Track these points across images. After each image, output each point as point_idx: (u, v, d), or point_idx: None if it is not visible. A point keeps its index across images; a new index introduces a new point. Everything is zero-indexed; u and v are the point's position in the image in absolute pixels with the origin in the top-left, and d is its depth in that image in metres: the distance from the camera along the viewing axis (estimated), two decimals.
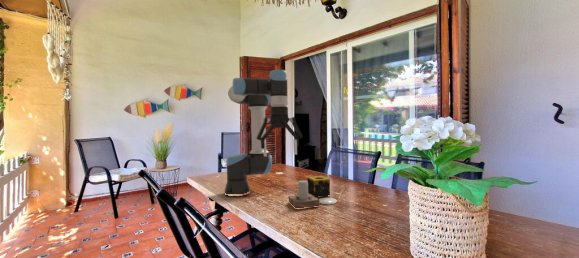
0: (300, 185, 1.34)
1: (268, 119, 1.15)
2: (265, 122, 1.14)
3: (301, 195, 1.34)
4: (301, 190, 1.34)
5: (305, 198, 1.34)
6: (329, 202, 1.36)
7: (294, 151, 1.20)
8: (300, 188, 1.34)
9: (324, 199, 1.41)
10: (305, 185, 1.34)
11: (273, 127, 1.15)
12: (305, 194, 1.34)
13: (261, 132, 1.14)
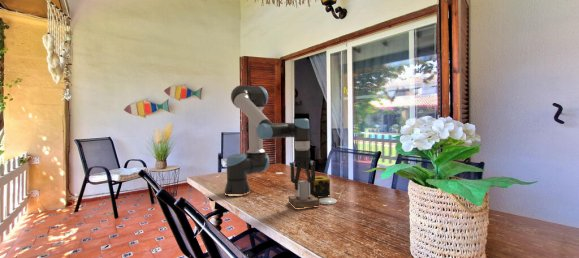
0: (300, 185, 1.34)
1: (293, 163, 1.34)
2: (292, 167, 1.33)
3: (301, 195, 1.34)
4: (301, 190, 1.34)
5: (305, 198, 1.34)
6: (329, 202, 1.36)
7: None
8: (300, 188, 1.34)
9: (324, 199, 1.41)
10: (305, 185, 1.34)
11: (300, 169, 1.33)
12: (305, 194, 1.34)
13: (293, 176, 1.33)
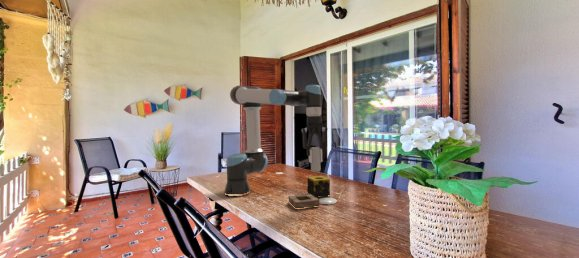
0: (312, 151, 1.35)
1: (305, 129, 1.35)
2: (304, 132, 1.34)
3: (313, 161, 1.35)
4: (313, 156, 1.35)
5: (317, 164, 1.35)
6: (329, 202, 1.36)
7: None
8: (312, 154, 1.35)
9: (324, 199, 1.41)
10: (317, 151, 1.35)
11: (312, 135, 1.35)
12: (317, 160, 1.35)
13: (305, 141, 1.34)
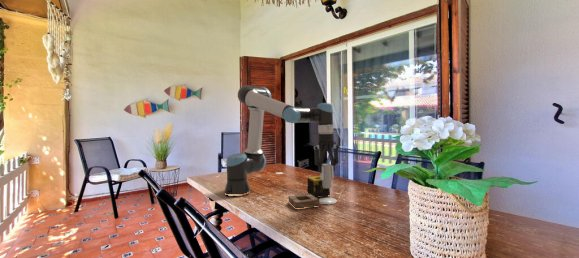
0: (323, 168, 1.38)
1: (317, 146, 1.37)
2: (316, 150, 1.36)
3: (325, 177, 1.37)
4: (325, 173, 1.37)
5: (329, 180, 1.37)
6: (329, 202, 1.36)
7: None
8: (324, 171, 1.38)
9: (324, 199, 1.41)
10: (329, 168, 1.37)
11: (324, 152, 1.37)
12: (329, 176, 1.37)
13: (317, 159, 1.36)
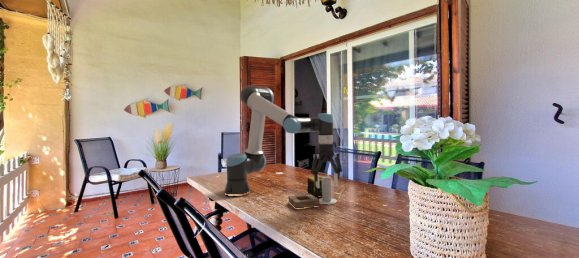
0: (323, 181, 1.38)
1: (317, 155, 1.37)
2: (316, 158, 1.36)
3: (325, 190, 1.38)
4: (324, 186, 1.38)
5: (329, 193, 1.38)
6: (329, 202, 1.36)
7: (335, 183, 1.41)
8: (324, 183, 1.38)
9: None
10: (328, 180, 1.38)
11: (323, 162, 1.37)
12: (329, 189, 1.38)
13: (314, 167, 1.36)
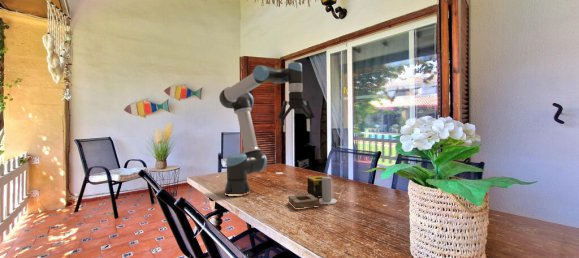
0: (323, 181, 1.38)
1: (287, 102, 1.43)
2: (285, 104, 1.42)
3: (325, 191, 1.38)
4: (325, 186, 1.38)
5: (329, 194, 1.38)
6: (329, 202, 1.36)
7: (307, 128, 1.48)
8: (324, 184, 1.38)
9: None
10: (329, 181, 1.38)
11: (291, 108, 1.43)
12: (329, 190, 1.38)
13: (281, 112, 1.42)
